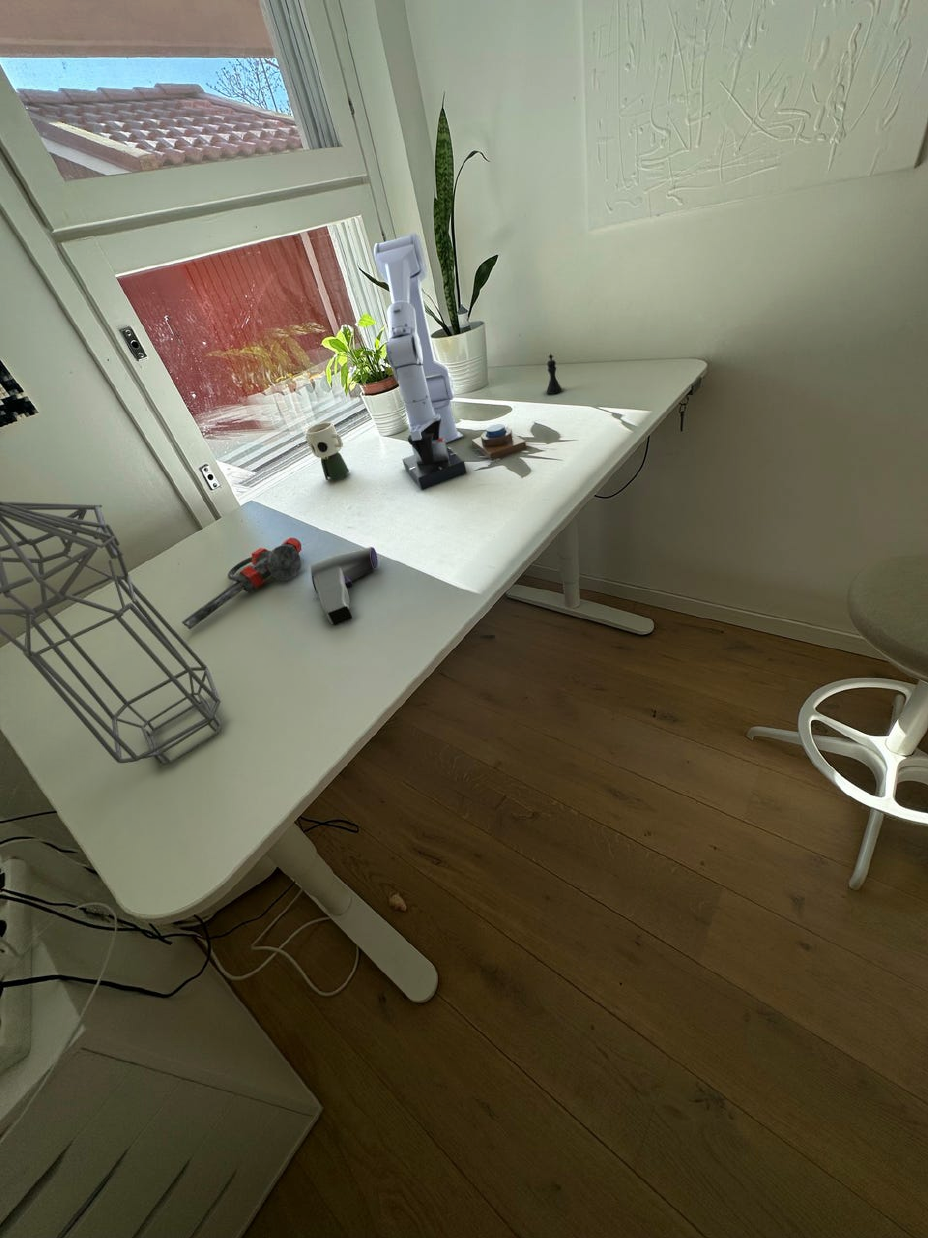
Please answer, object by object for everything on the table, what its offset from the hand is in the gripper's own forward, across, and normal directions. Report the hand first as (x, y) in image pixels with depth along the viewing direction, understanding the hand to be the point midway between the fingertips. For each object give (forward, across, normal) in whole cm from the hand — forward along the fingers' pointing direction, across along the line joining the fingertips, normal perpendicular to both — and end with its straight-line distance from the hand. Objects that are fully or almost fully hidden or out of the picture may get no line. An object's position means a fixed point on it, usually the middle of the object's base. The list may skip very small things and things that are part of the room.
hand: (432, 458), depth 119 cm
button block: (+4, +10, -14) cm, 18 cm away
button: (+1, +10, -14) cm, 17 cm away
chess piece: (+4, +45, -26) cm, 52 cm away
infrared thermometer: (+4, -45, +5) cm, 45 cm away
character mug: (+4, +6, +28) cm, 29 cm away
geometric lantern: (+4, -74, +20) cm, 77 cm away
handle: (+1, 0, 0) cm, 1 cm away
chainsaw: (+4, -40, +30) cm, 50 cm away
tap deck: (+4, +1, 0) cm, 4 cm away
